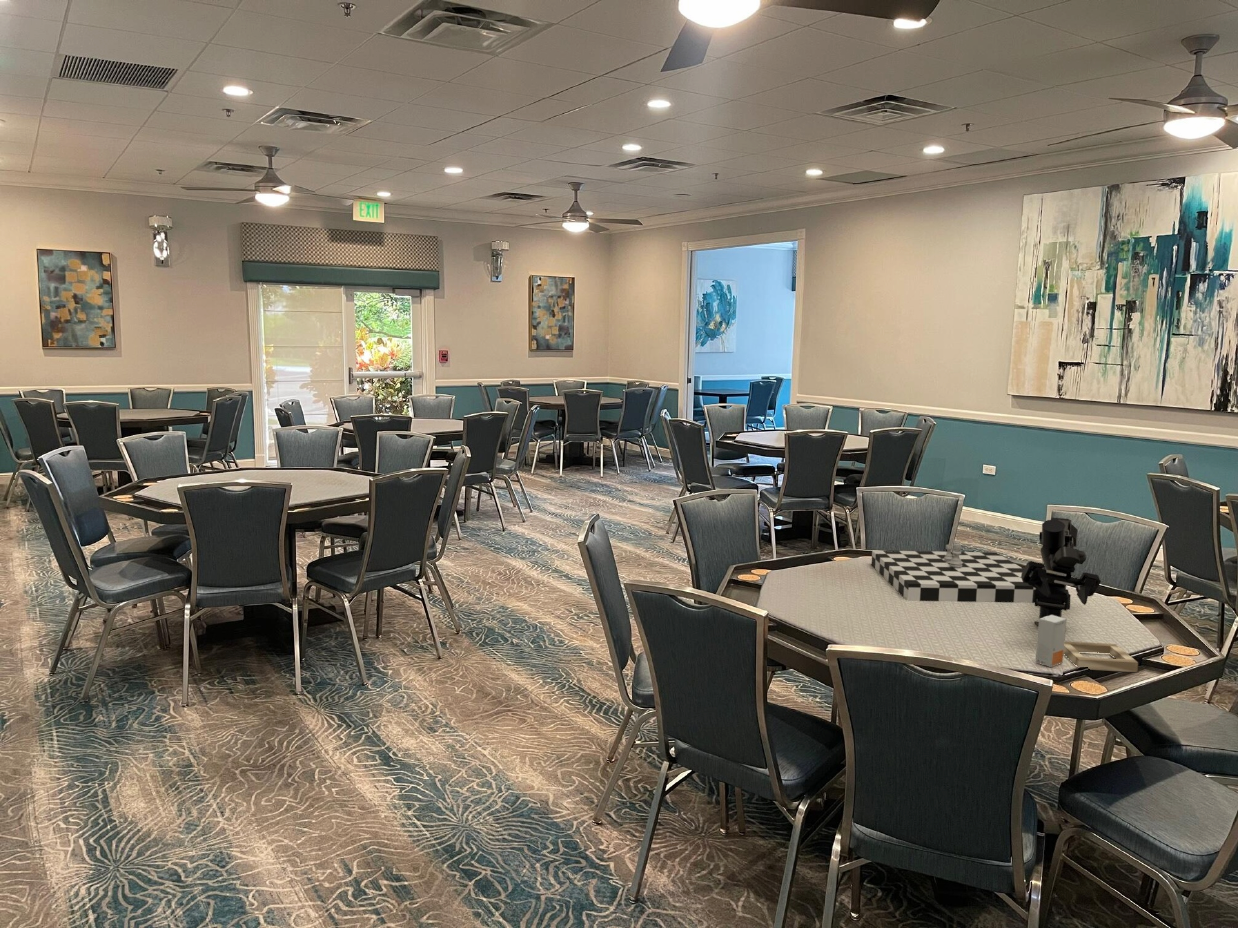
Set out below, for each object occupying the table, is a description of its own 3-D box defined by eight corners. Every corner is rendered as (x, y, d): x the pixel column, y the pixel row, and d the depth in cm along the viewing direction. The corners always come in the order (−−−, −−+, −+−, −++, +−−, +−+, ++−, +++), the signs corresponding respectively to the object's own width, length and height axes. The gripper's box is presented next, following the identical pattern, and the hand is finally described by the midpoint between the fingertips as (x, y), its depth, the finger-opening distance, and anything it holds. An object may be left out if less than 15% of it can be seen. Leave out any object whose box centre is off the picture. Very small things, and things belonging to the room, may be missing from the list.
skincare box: (1050, 668, 228) (1054, 622, 227) (1034, 663, 232) (1038, 618, 230) (1063, 663, 232) (1067, 618, 230) (1047, 658, 235) (1050, 614, 234)
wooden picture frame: (1058, 650, 242) (1059, 641, 242) (1114, 652, 240) (1115, 643, 240) (1078, 668, 228) (1079, 659, 228) (1137, 672, 226) (1138, 662, 226)
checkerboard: (1050, 604, 286) (1054, 558, 284) (907, 602, 287) (910, 556, 284) (995, 568, 330) (998, 528, 328) (871, 566, 331) (873, 526, 329)
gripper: (1031, 531, 244) (1042, 569, 231) (1102, 546, 242) (1117, 584, 230) (1016, 562, 250) (1026, 600, 238) (1084, 576, 249) (1098, 615, 236)
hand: (1067, 599), depth 235 cm, fingers open, 9 cm apart
